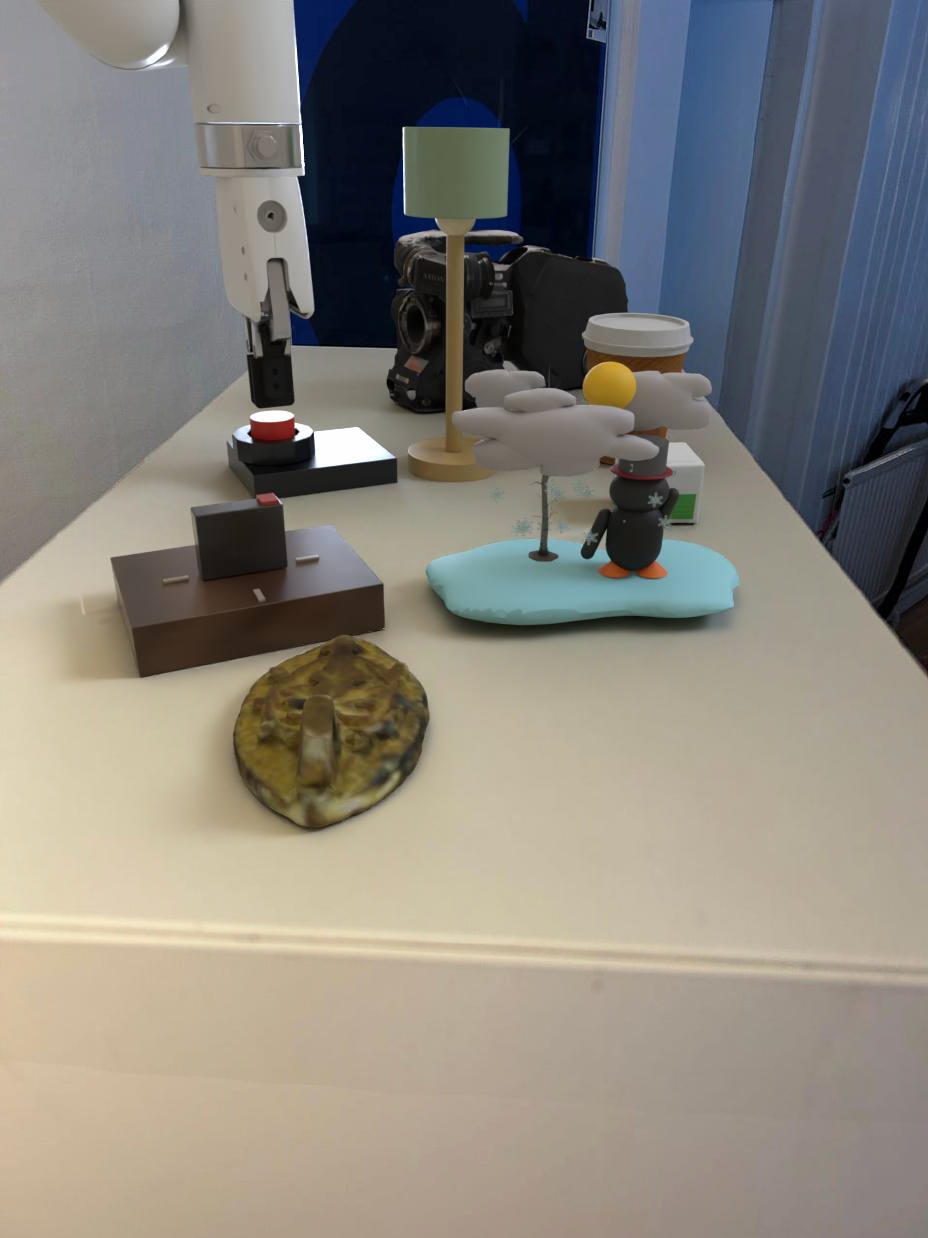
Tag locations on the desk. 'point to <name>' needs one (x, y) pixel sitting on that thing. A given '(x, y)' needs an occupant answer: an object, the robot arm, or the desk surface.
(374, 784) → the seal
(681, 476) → the small box
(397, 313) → the movie camera
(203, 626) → the dimmer panel
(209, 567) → the dark grey block
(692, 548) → the penguin figurine
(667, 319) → the disposable coffee cup
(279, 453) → the switch block
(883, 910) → the desk surface
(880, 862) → the desk surface
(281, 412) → the lamp switch
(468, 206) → the desk lamp
